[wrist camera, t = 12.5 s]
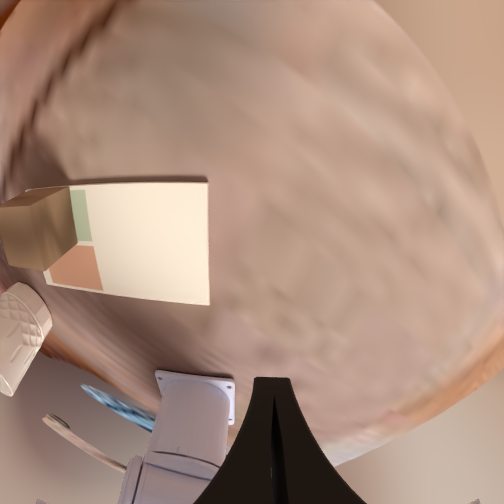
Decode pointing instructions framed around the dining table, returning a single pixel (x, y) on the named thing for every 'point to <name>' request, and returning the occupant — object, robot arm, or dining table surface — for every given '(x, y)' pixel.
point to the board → (138, 241)
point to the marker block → (37, 227)
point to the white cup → (20, 333)
